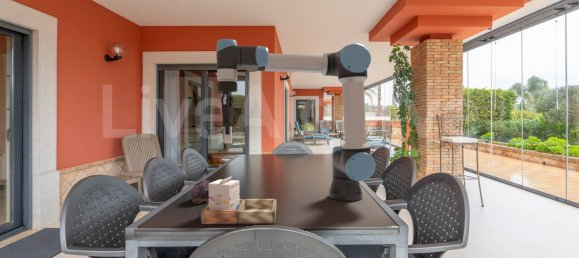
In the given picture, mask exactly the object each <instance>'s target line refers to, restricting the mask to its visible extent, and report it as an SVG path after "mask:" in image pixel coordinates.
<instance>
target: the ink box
mask: <svg viewBox="0 0 579 258" xmlns="http://www.w3.org/2000/svg"><path fill="white" fill-rule="evenodd" d="M233 176H234V175H230V176H229V177H226V178H224V179H222V178H221V179H217V180H215V181H212V182H210V183H209V200H208V204H209V210H238V208H239V206H240V199H241V198H240V194H241V193H240V180H235V179H232V178H233Z"/></svg>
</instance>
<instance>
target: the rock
mask: <svg viewBox="0 0 579 258" xmlns="http://www.w3.org/2000/svg"><path fill="white" fill-rule="evenodd" d="M209 183H211V181H209V180H208V179H201V180H198V181H197V182H196V183H194V185H193V187H192V190H191V193H190V196H191V197H190V198H191V203H192V204H195V205H200V204H202V203H204V202H209Z"/></svg>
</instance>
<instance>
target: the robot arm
mask: <svg viewBox="0 0 579 258" xmlns="http://www.w3.org/2000/svg"><path fill="white" fill-rule="evenodd" d="M371 56H372V55H371V52H370V51H369V49H368V48H367V47H366V46H365V45H363V44H361V43H356V42H355V43H354V42H353V43H350V44H347V45H345V46H344V47H342V48H341V49H340V50H338V51H335V52H330V53H329V52H328V53H327V52H326V53H324V52H323V54H322V55H317V54H315V55H314V54H295V53H294V54H293V53H292V54H291V53H271V52H270V53H269V48H268V47H267V46H262V45H256V46H255V45H252V46H251V45H246V46H245V45H238V43H237V41H236V40H235V39H231V38H221V39H219V40H218V41H217V43H216V71H217V72H215V76H216V79H217V83H216V86H217V87H216V91H217V92H218V93H222V96H221V98H220V103H221V114H222V115H221V116H222V124H221V126H222V127H223V144H232V143H233V127H234V124H233V117H234V116H233V115H234V113H233V112H234V97H233V95H232V93H236V92H238V82H237V81H238V67H244V69H245V70H246V71H247V72H250V73H255V72H278V73H279V72H280V73H281V72H283V73H284V72H285V73H304V74H305V73H310V74H311V73H312V74H313V73H314V74H322V75H323V76H325V77H328V76H329V77H336V78H337V80H338V81H339V82H340V84H341V89H342V92H341V93H342V112H343V131H344V132H343V133H344V143H343V144H342V145H338V146H337V145H336V146H334V147H333V148H332V154H331V156H332V179H331V183H330V186H329V189H328V198H330V199H331V200H335V201H339V202H340V201H341V202H343V201H344V202H354V201H360V200H362V199H363V198H364V196H363V190H362V185H361V183H360V182H363V181H366V180H369V179H370V178H371V177H372V176H373V175H374V173H375V171H376V161H375V159H374V157H373V156H372V153H371V149H372V148H371V145H370V144H369V143H368V142H367V128H366V127H367V126H366V108H365V81H367V79H368V68H369V67H370V65H371V63H372V57H371Z"/></svg>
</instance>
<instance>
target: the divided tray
mask: <svg viewBox="0 0 579 258" xmlns="http://www.w3.org/2000/svg"><path fill="white" fill-rule="evenodd" d="M276 215H277V198H240V206H239V208H238V210H209V203H208V204H207V205H206V206H205V207H204V208H203V209H202V210H201V211H200V224H201V225H202V224H203V225H205V224H206V225H210V224H211V225H213V224H214V225H215V224H217V225H218V224H220V225H221V224H222V225H224V224H225V225H227V224H231V225H233V224H234V225H235V224H276V217H277V216H276Z"/></svg>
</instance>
